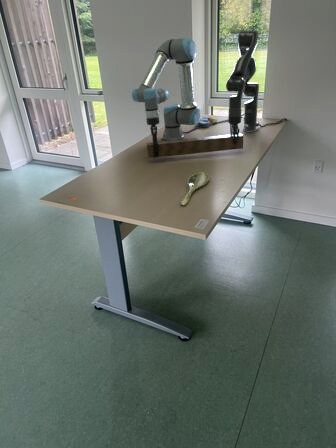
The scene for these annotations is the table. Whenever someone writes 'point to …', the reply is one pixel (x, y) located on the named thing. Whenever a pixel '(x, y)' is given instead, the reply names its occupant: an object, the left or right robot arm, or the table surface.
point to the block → (195, 145)
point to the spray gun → (206, 121)
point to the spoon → (195, 184)
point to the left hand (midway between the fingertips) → (156, 155)
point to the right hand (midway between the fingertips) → (234, 142)
